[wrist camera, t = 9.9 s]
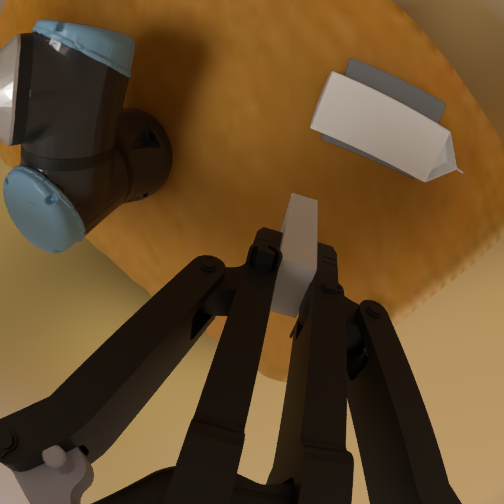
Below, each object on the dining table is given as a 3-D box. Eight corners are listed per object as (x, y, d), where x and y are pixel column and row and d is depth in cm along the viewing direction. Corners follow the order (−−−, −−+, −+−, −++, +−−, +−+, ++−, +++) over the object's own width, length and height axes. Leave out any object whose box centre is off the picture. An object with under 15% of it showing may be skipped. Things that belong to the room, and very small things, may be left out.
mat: (321, 138, 40) (321, 139, 39) (350, 58, 33) (350, 57, 32) (411, 177, 40) (413, 178, 39) (444, 103, 33) (446, 103, 32)
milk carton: (331, 70, 28) (475, 148, 28) (329, 70, 34) (454, 135, 34) (308, 127, 32) (449, 197, 32) (310, 118, 38) (433, 177, 38)
